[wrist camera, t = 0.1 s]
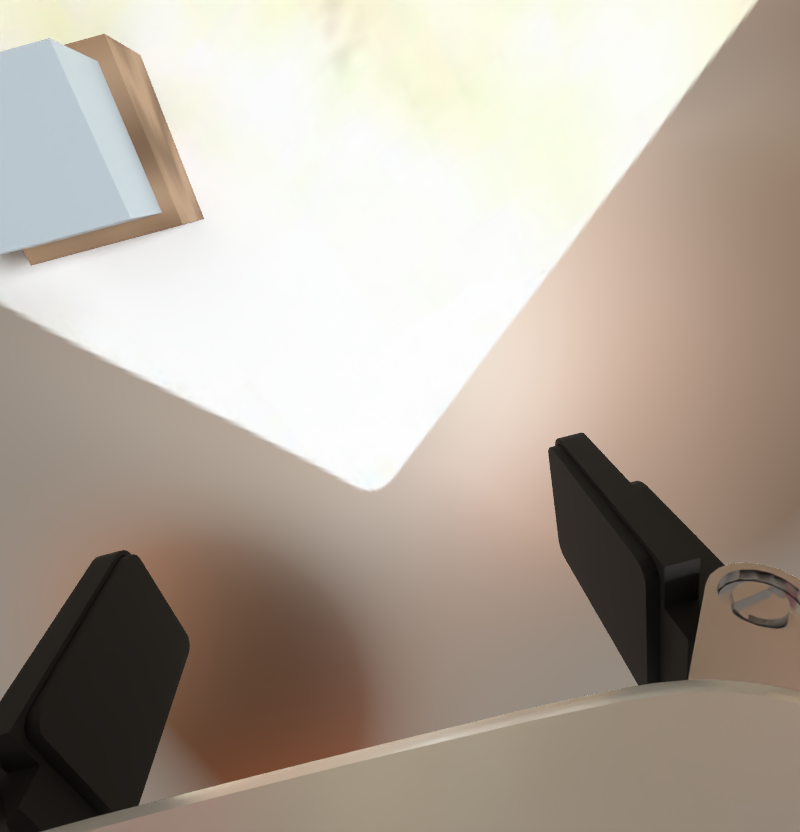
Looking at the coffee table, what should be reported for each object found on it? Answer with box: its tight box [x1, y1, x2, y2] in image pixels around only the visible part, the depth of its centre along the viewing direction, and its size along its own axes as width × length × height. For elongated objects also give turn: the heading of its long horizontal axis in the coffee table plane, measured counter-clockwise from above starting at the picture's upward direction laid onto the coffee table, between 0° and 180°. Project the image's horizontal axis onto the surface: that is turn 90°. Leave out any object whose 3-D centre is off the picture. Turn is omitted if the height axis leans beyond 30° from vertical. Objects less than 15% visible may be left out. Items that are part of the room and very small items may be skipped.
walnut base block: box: [23, 34, 204, 265], centre depth 32 cm, size 10×10×6 cm
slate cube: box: [0, 39, 162, 255], centre depth 27 cm, size 8×8×5 cm
